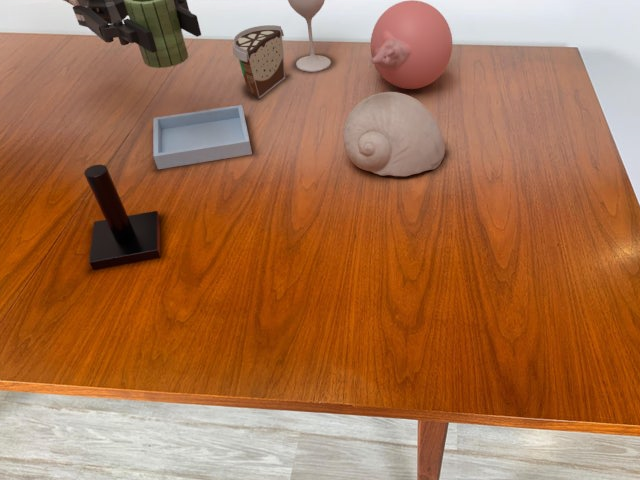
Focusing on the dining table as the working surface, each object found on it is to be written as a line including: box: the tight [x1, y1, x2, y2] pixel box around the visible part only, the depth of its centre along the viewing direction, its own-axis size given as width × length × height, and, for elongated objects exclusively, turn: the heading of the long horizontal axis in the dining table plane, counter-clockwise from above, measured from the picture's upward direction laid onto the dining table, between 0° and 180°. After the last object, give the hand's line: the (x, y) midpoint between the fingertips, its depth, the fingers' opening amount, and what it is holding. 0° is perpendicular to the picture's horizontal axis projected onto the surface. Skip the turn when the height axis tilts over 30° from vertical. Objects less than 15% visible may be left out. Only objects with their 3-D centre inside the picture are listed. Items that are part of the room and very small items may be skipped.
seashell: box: [342, 91, 446, 177], centre depth 95 cm, size 15×14×15 cm
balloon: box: [370, 0, 453, 90], centre depth 108 cm, size 15×20×15 cm
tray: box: [152, 104, 253, 170], centre depth 101 cm, size 16×13×3 cm
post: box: [83, 164, 161, 271], centre depth 79 cm, size 9×9×12 cm
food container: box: [232, 24, 286, 100], centre depth 112 cm, size 12×6×10 cm, turn 154°
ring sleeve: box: [124, 0, 189, 69], centre depth 84 cm, size 6×6×9 cm
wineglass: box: [287, 0, 332, 73], centre depth 114 cm, size 8×8×21 cm
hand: (174, 34), depth 81 cm, fingers closed on ring sleeve, 6 cm apart
